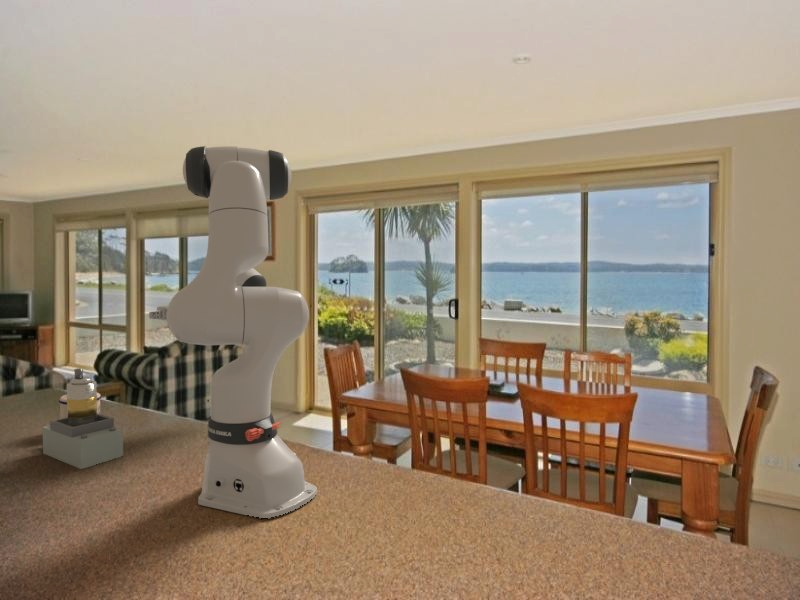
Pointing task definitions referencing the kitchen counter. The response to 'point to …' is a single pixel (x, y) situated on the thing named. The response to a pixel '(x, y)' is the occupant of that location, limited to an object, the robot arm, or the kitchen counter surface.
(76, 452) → the block
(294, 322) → the robot arm
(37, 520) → the kitchen counter surface
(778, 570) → the kitchen counter surface
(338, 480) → the kitchen counter surface
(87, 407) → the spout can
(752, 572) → the kitchen counter surface
